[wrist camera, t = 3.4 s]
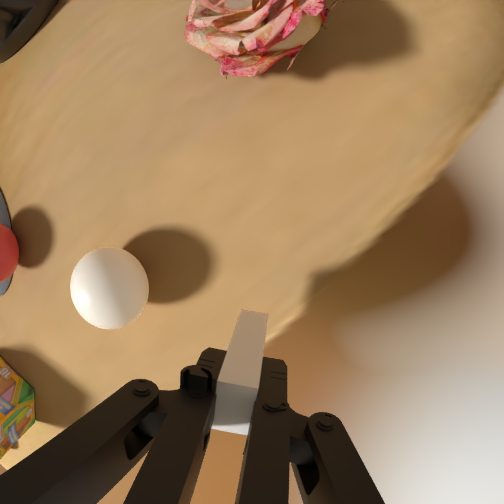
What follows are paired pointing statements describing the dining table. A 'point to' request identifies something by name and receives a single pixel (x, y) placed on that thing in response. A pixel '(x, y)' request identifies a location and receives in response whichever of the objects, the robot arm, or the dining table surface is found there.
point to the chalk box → (14, 407)
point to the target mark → (2, 217)
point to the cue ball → (109, 287)
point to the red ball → (7, 252)
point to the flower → (253, 31)
